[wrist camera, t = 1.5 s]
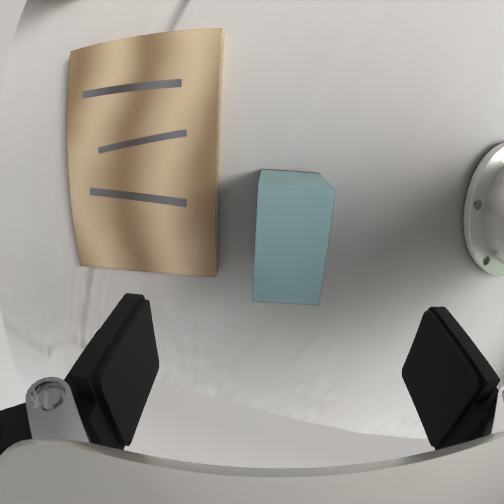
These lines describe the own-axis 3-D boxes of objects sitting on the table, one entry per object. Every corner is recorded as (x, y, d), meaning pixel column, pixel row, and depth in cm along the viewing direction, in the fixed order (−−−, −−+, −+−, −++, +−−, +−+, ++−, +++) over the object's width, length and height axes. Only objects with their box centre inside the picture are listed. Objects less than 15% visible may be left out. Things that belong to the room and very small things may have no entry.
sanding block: (261, 168, 21) (258, 183, 16) (318, 172, 21) (334, 189, 16) (256, 260, 24) (252, 301, 18) (308, 263, 24) (318, 304, 18)
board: (224, 33, 17) (221, 27, 16) (217, 270, 24) (215, 277, 23) (78, 53, 18) (70, 51, 17) (86, 259, 25) (80, 265, 24)
